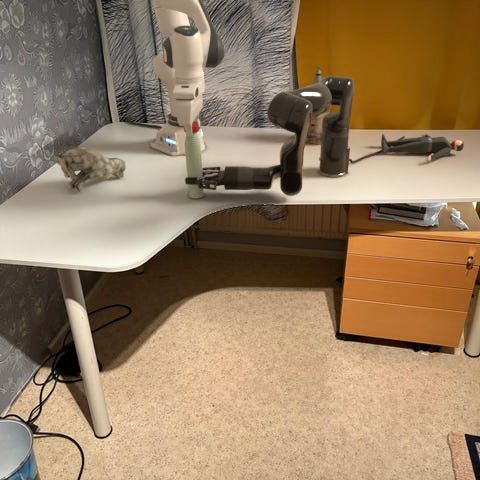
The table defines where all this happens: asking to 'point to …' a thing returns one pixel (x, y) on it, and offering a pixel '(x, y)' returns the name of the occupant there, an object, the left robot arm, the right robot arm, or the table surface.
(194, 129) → the cap
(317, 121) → the miniature building
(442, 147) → the toy
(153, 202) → the table surface
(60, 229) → the table surface
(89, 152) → the figurine
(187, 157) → the bottle
